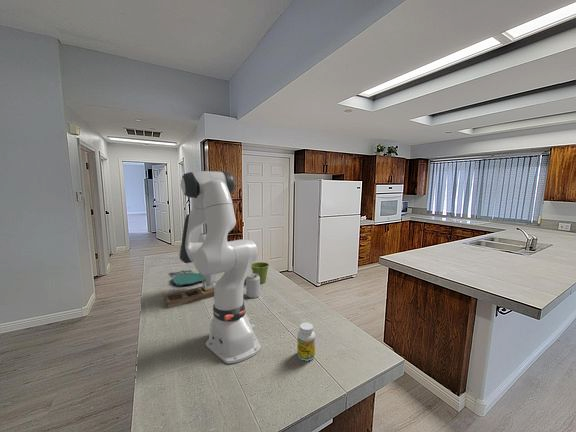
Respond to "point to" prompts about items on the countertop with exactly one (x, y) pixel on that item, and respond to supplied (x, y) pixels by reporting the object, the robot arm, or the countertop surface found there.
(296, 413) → the countertop surface
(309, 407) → the countertop surface
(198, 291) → the walnut rail
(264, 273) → the plant pot
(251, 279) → the can
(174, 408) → the countertop surface
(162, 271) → the countertop surface
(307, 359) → the supplement bottle
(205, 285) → the steel block
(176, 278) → the cutlery set
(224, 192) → the robot arm
